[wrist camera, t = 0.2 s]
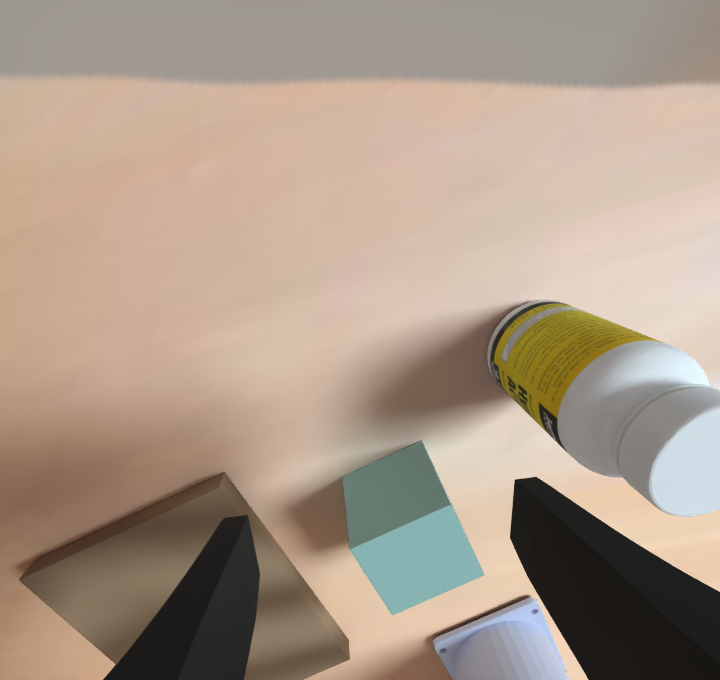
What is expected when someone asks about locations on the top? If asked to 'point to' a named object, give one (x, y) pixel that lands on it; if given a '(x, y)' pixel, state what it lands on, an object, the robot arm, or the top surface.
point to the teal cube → (406, 530)
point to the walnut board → (167, 568)
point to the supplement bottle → (615, 401)
